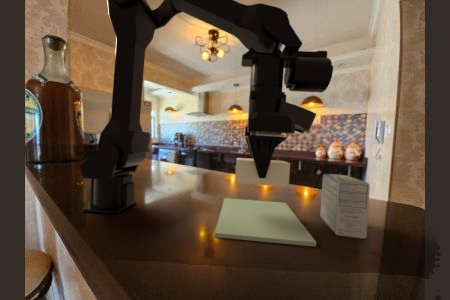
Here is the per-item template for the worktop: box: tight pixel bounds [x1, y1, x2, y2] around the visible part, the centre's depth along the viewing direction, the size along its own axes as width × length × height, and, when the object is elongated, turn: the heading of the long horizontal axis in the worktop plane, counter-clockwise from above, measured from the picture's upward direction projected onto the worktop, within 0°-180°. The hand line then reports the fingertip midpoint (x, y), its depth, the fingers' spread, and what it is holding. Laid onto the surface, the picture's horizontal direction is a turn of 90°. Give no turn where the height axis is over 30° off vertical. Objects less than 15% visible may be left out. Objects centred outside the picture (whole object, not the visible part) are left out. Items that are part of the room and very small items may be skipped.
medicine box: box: [320, 173, 370, 240], centre depth 32 cm, size 8×4×9 cm, turn 168°
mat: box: [214, 197, 317, 247], centre depth 34 cm, size 14×17×1 cm
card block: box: [234, 157, 291, 188], centre depth 34 cm, size 5×9×4 cm, turn 85°
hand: (260, 175), depth 34 cm, fingers closed on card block, 5 cm apart
